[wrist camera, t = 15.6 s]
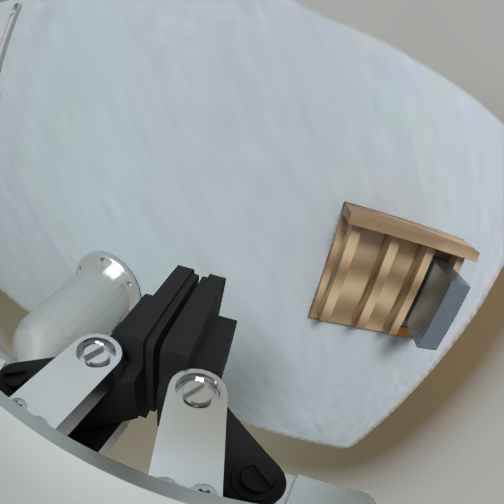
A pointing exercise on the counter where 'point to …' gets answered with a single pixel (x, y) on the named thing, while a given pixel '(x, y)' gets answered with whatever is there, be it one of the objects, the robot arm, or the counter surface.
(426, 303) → the block
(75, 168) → the counter surface
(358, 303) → the rack
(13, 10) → the adjustable wrench
